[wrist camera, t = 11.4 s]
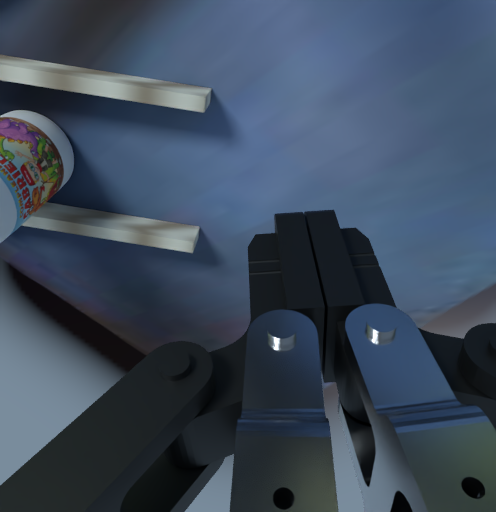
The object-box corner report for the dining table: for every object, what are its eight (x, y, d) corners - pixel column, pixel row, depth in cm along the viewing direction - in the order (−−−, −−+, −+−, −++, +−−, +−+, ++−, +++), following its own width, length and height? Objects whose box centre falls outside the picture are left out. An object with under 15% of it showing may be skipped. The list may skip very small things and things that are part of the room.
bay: (211, 88, 38) (204, 98, 36) (198, 237, 46) (191, 255, 43) (-50, 46, 39) (-79, 53, 36) (-20, 202, 46) (-41, 218, 43)
